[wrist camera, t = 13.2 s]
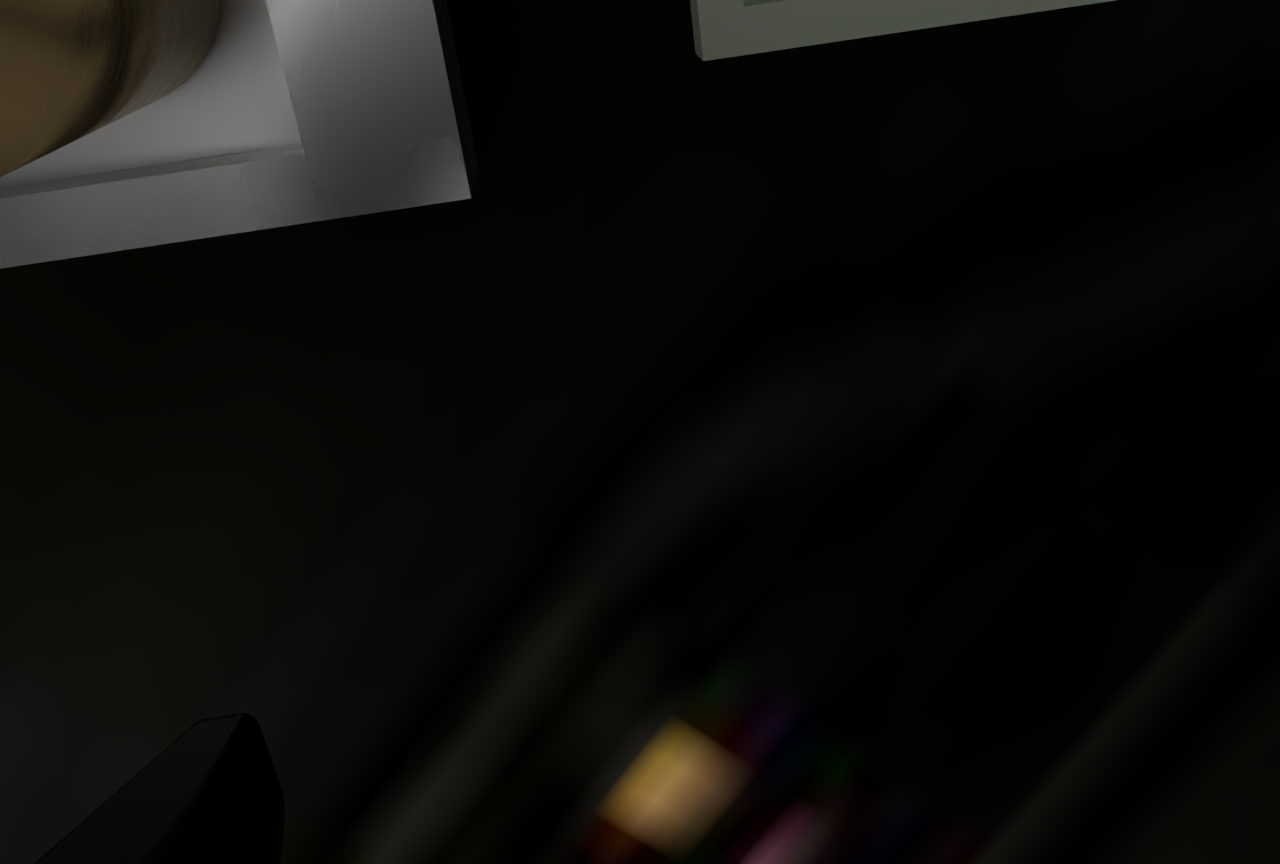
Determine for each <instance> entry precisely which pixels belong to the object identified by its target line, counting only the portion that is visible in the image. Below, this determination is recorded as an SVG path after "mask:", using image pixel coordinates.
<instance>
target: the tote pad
mask: <svg viewBox="0 0 1280 864" xmlns="http://www.w3.org/2000/svg"><path fill="white" fill-rule="evenodd" d="M1108 1H1115V0H690V6H691V15H692V25H693V34H694V44H695V53H696V54H697V55H698V56H699V57H700V58H701V59H702V60H703V61H708V60H715V59H721V58H728V57H735V56H742V55H748V54H755V53H762V52H769V51H776V50H782V49H789V48H796V47H803V46H809V45H816V44H823V43H830V42H837V41H843V40H850V39H857V38H864V37H871V36H877V35H884V34H891V33H898V32H904V31H911V30H918V29H925V28H932V27H938V26H945V25H952V24H959V23H965V22H972V21H979V20H986V19H993V18H999V17H1006V16H1013V15H1020V14H1027V13H1033V12H1040V11H1047V10H1054V9H1060V8H1067V7H1074V6H1081V5H1088V4H1094V3H1101V2H1108Z"/></svg>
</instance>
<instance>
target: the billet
mask: <svg viewBox="0 0 1280 864" xmlns="http://www.w3.org/2000/svg"><path fill="white" fill-rule="evenodd" d="M221 9H222V0H0V177H2V176H4V175H6V174H8V173H10V172H12V171H14V170H16V169H18V168H20V167H22V166H24V165H26V164H29V163H31V162H33V161H35V160H37V159H39V158H41V157H43V156H45V155H47V154H49V153H51V152H53V151H55V150H57V149H59V148H61V147H63V146H65V145H67V144H69V143H72V142H74V141H76V140H78V139H80V138H82V137H84V136H86V135H88V134H90V133H92V132H94V131H96V130H98V129H100V128H102V127H104V126H106V125H108V124H110V123H112V122H115V121H117V120H119V119H121V118H123V117H125V116H127V115H129V114H131V113H133V112H135V111H137V110H139V109H141V108H143V107H145V106H147V105H149V104H151V103H153V102H155V101H157V100H159V99H161V98H163V97H165V96H167V95H169V94H170V93H171V92H173V91H174V90H175V89H177V88H178V87H179V86H181V85H182V84H183V83H184V82H185V81H186V80H187V79H188V78H189V77H190V76H191V75H192V74H193V73H194V72H195V70H196V69H197V68H198V66H199V65H200V64H201V62H202V61H203V59H204V58H205V56H206V54H207V52H208V50H209V48H210V46H211V44H212V42H213V39H214V36H215V33H216V31H217V28H218V24H219V19H220V14H221Z"/></svg>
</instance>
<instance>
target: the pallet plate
mask: <svg viewBox="0 0 1280 864" xmlns="http://www.w3.org/2000/svg"><path fill="white" fill-rule="evenodd" d="M478 168H479V167H478V162H477V157H476V151H475V146H474V141H473V136H472V130H471V125H470V120H469V115H468V109H467V104H466V99H465V94H464V88H463V83H462V78H461V73H460V68H459V62H458V57H457V52H456V47H455V41H454V36H453V31H452V26H451V20H450V15H449V10H448V5H447V0H222V9H221V14H220V19H219V24H218V28H217V31H216V33H215V36H214V39H213V42H212V44H211V46H210V48H209V50H208V52H207V54H206V56H205V58H204V59H203V61H202V62H201V64H200V65H199V66H198V68H197V69H196V70H195V72H194V73H193V74H192V75H191V76H190V77H189V78H188V79H187V80H186V81H185V82H184V83H183V84H182V85H181V86H179V87H178V88H177V89H175V90H174V91H173V92H171V93H170V94H169V95H167V96H165V97H163V98H161V99H159V100H157V101H155V102H153V103H151V104H149V105H147V106H145V107H143V108H141V109H139V110H137V111H135V112H133V113H131V114H129V115H127V116H125V117H123V118H121V119H119V120H117V121H115V122H112V123H110V124H108V125H106V126H104V127H102V128H100V129H98V130H96V131H94V132H92V133H90V134H88V135H86V136H84V137H82V138H80V139H78V140H76V141H74V142H72V143H69V144H67V145H65V146H63V147H61V148H59V149H57V150H55V151H53V152H51V153H49V154H47V155H45V156H43V157H41V158H39V159H37V160H35V161H33V162H31V163H29V164H26V165H24V166H22V167H20V168H18V169H16V170H14V171H12V172H10V173H8V174H6V175H4V176H2V177H0V268H7V267H14V266H20V265H27V264H34V263H40V262H47V261H54V260H61V259H67V258H74V257H81V256H87V255H94V254H101V253H108V252H114V251H121V250H128V249H134V248H141V247H148V246H155V245H161V244H168V243H175V242H182V241H188V240H195V239H202V238H208V237H215V236H222V235H229V234H235V233H242V232H249V231H255V230H262V229H269V228H276V227H282V226H289V225H296V224H303V223H309V222H316V221H323V220H329V219H336V218H343V217H350V216H356V215H363V214H370V213H376V212H383V211H390V210H397V209H403V208H410V207H417V206H423V205H430V204H437V203H444V202H450V201H457V200H464V199H471V197H472V193H473V189H474V185H475V180H476V176H477V172H478Z"/></svg>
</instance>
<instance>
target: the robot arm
mask: <svg viewBox="0 0 1280 864" xmlns="http://www.w3.org/2000/svg"><path fill="white" fill-rule="evenodd" d="M284 827H285V804H284V797H283V792H282V789H281V786H280V783H279V780H278V777H277V774H276V771H275V768H274V766H273V763H272V760H271V757H270V754H269V751H268V748H267V745H266V742H265V739H264V736H263V733H262V730H261V728H260V726H259V724H258V722H257V721H256V720H255V718H254V717H253V716H251V715H249V714H247V713H241V714H234V715H227V716H221V717H214V718H208V719H203V720H200V721H198V722H196V723H195V724H194V725H192V726H191V727H190V728H189V729H188V730H187V731H185V732H184V733H183V734H182V735H181V736H180V737H179V738H177V739H176V740H175V741H174V742H173V743H172V744H171V745H169V746H168V747H167V748H166V749H165V750H164V751H163V752H161V753H160V754H159V755H158V756H157V757H156V758H155V759H153V760H152V761H151V762H150V763H149V764H148V765H147V766H145V767H144V768H143V769H142V770H141V771H140V772H139V773H137V774H136V775H135V776H134V777H133V778H132V779H131V780H129V781H128V782H127V783H126V784H125V785H124V786H123V787H121V788H120V789H119V790H118V791H117V792H116V793H115V794H113V795H112V796H111V797H110V798H109V799H108V800H107V801H105V802H104V803H103V804H102V805H101V806H100V807H99V808H97V809H96V810H95V811H94V812H93V813H92V814H91V815H89V816H88V817H87V818H86V819H85V820H84V821H82V822H81V823H80V824H79V825H78V826H77V827H76V828H74V829H73V830H72V831H71V832H70V833H69V834H68V835H66V836H65V837H64V838H63V839H62V840H61V841H60V842H58V843H57V844H56V845H55V846H54V847H53V848H52V849H50V850H49V851H48V852H47V853H46V854H45V855H44V856H42V857H41V858H40V859H39V860H38V861H37V862H36V863H34V864H280V863H281V854H282V845H283V836H284Z"/></svg>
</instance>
